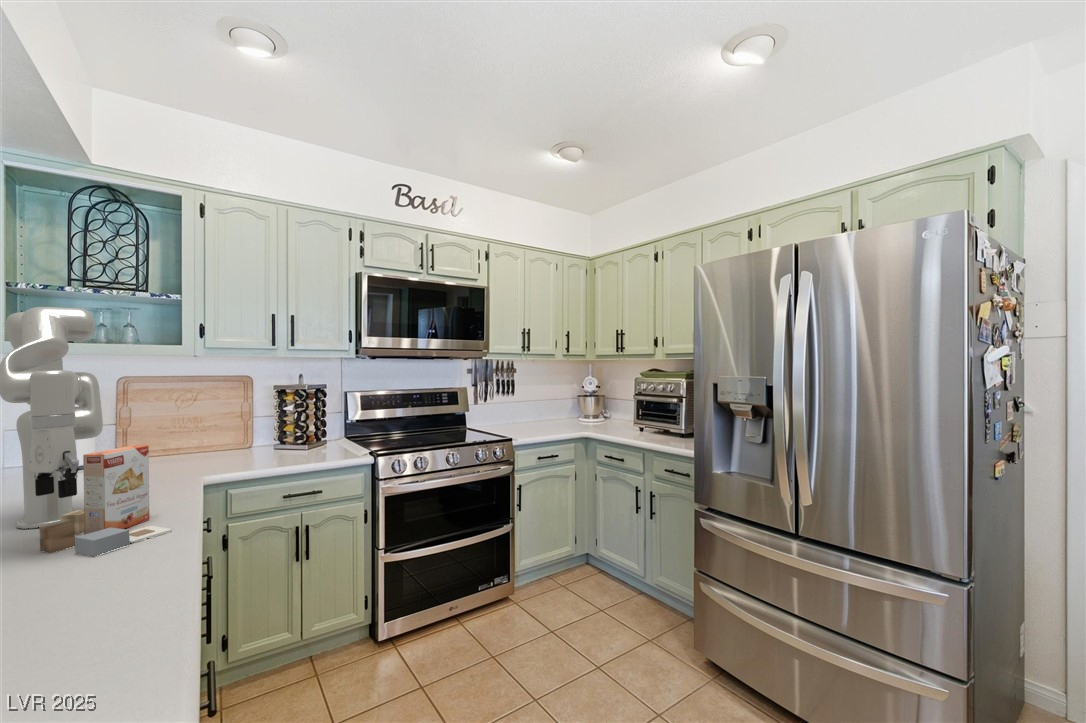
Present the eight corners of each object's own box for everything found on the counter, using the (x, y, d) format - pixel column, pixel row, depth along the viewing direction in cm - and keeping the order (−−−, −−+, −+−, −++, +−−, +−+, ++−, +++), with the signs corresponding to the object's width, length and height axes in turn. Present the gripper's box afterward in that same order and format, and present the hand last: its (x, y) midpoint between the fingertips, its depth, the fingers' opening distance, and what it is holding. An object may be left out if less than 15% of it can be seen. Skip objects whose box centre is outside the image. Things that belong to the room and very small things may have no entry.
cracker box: (107, 537, 124) (104, 453, 124) (83, 537, 125) (80, 454, 125) (152, 519, 138) (149, 444, 138) (130, 519, 139) (128, 444, 139)
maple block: (62, 534, 128) (61, 515, 128) (79, 528, 132) (78, 509, 132) (78, 534, 128) (78, 514, 128) (95, 528, 132) (94, 509, 132)
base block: (75, 554, 114) (74, 537, 114) (110, 544, 120) (110, 527, 120) (94, 558, 111) (93, 540, 111) (129, 546, 118) (129, 530, 118)
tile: (109, 539, 122) (109, 536, 122) (150, 528, 131) (150, 525, 131) (131, 543, 119) (131, 540, 119) (172, 531, 127) (171, 528, 127)
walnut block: (40, 551, 116) (39, 527, 116) (64, 544, 120) (64, 521, 120) (50, 553, 115) (49, 529, 115) (75, 546, 119) (74, 523, 119)
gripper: (12, 425, 117) (15, 497, 117) (53, 424, 111) (56, 501, 110) (54, 421, 124) (56, 490, 124) (94, 420, 117) (97, 493, 117)
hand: (56, 495), depth 117 cm, fingers open, 9 cm apart
